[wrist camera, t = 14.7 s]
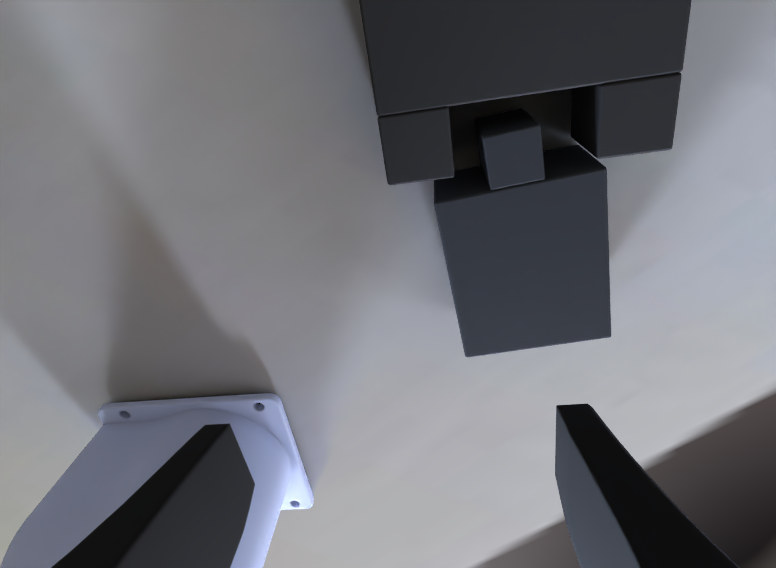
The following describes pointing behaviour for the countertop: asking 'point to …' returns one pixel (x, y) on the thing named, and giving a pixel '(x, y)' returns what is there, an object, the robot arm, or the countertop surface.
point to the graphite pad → (526, 240)
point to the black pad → (523, 70)
